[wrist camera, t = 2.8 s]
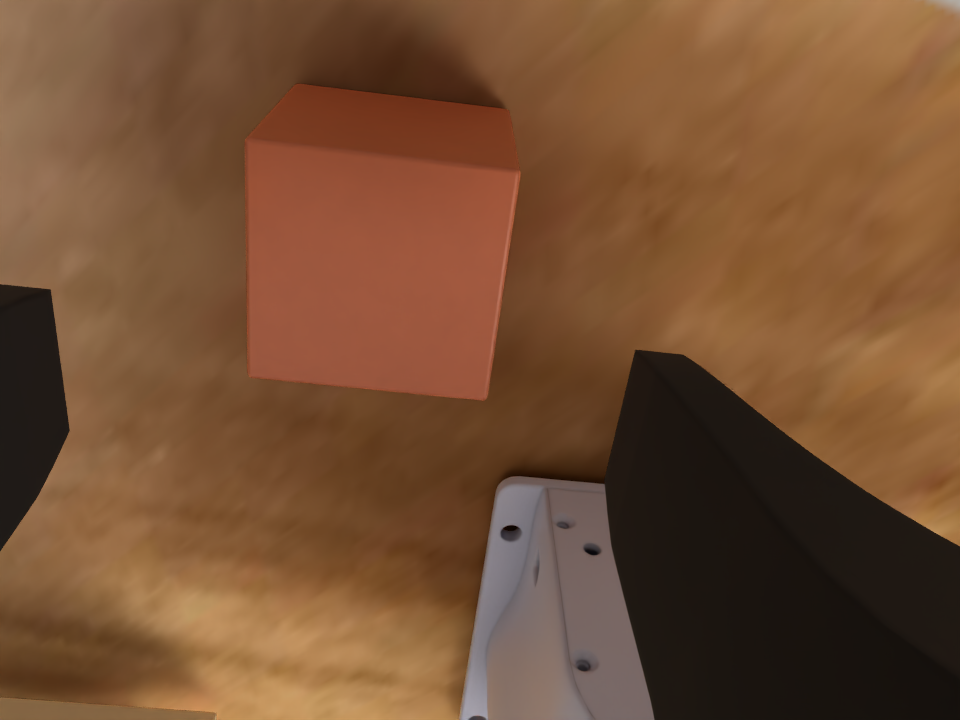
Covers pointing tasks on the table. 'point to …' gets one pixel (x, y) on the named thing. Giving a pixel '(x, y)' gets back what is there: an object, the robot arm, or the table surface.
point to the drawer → (89, 711)
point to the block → (378, 241)
